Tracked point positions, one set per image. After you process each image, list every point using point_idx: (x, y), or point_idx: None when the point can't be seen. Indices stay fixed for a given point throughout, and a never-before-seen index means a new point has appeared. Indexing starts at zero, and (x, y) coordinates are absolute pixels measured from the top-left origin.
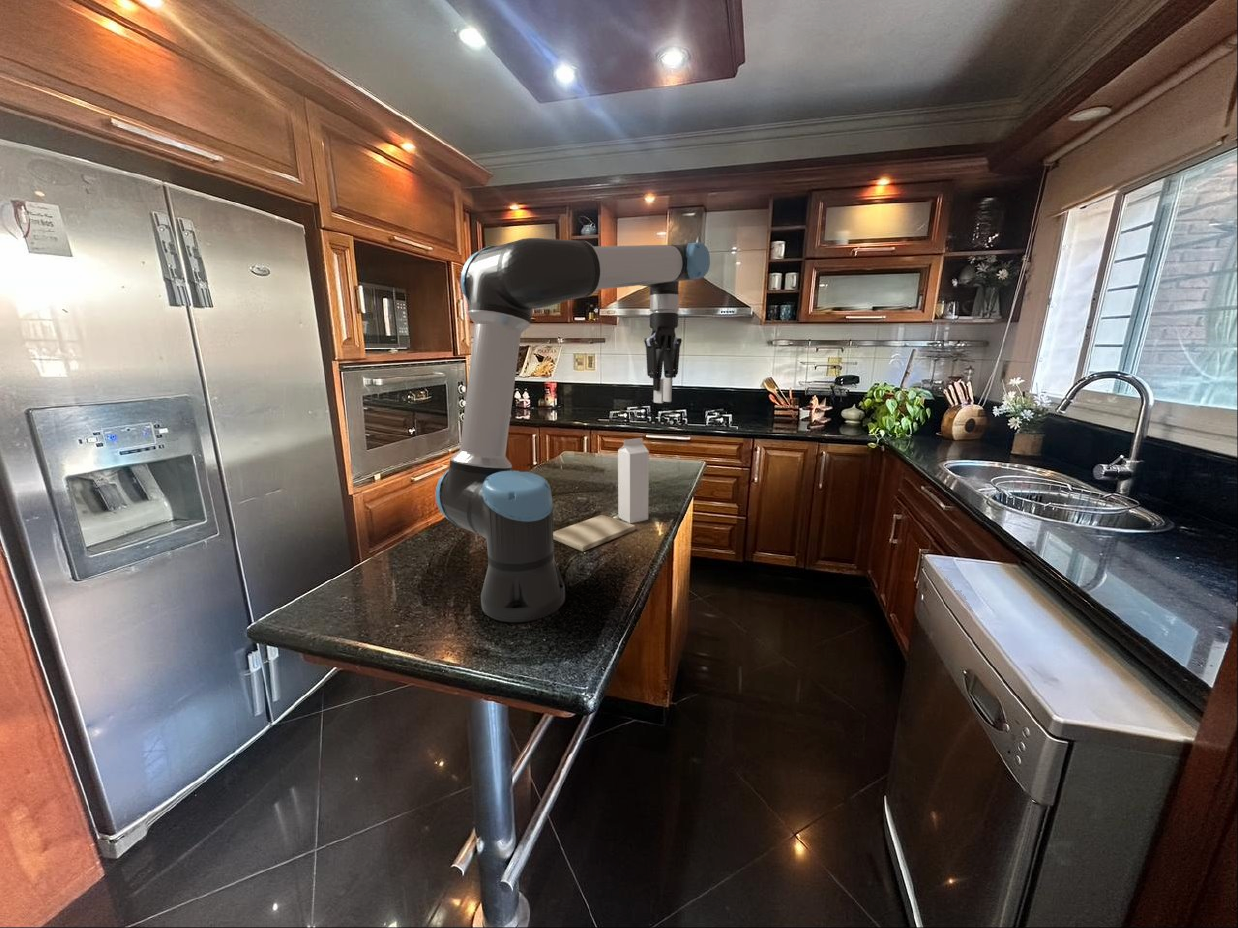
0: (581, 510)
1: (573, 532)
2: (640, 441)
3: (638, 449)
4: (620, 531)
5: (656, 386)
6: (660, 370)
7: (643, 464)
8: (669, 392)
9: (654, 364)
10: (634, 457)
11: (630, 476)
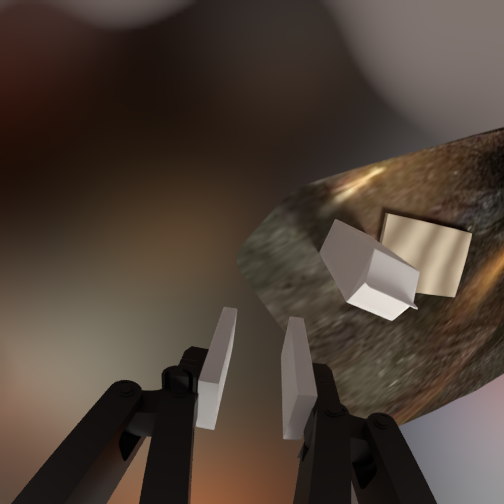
0: (350, 331)
1: (444, 273)
2: (374, 286)
3: (392, 270)
4: (416, 220)
5: (333, 381)
6: (335, 441)
7: (378, 247)
8: (231, 334)
9: (416, 471)
10: (406, 263)
11: (397, 255)
